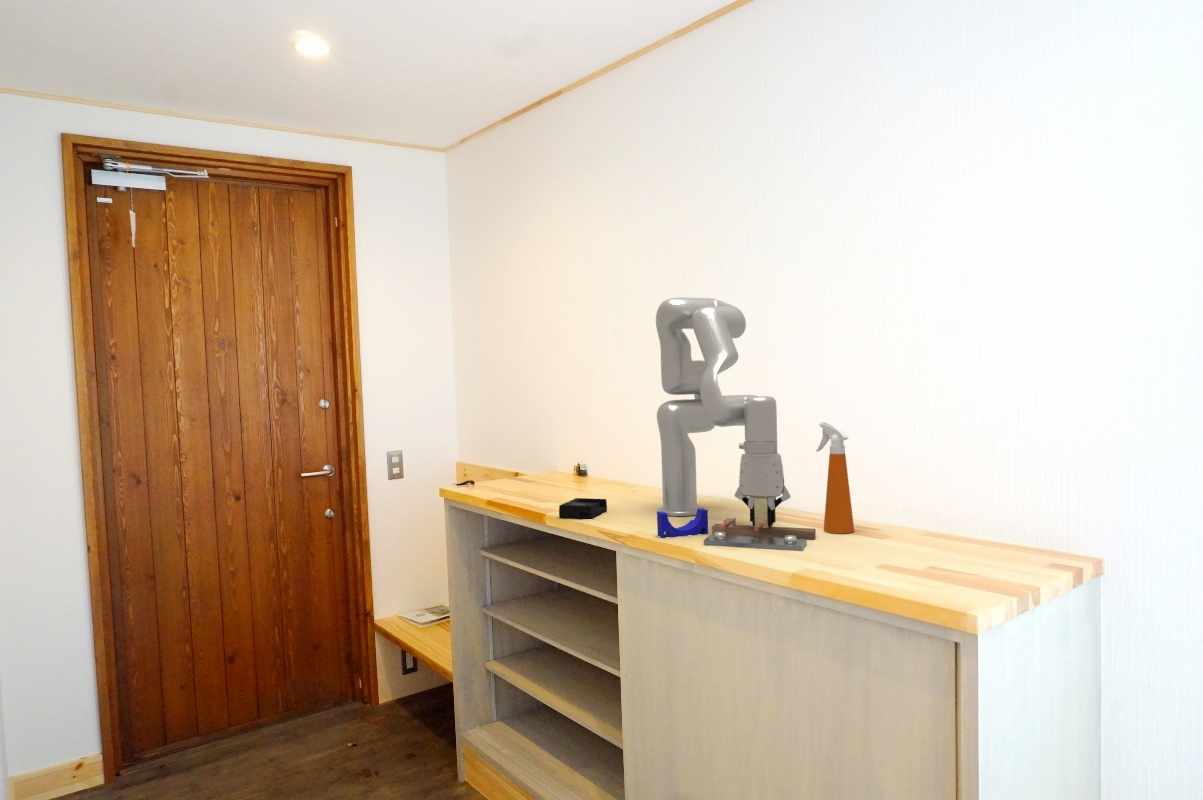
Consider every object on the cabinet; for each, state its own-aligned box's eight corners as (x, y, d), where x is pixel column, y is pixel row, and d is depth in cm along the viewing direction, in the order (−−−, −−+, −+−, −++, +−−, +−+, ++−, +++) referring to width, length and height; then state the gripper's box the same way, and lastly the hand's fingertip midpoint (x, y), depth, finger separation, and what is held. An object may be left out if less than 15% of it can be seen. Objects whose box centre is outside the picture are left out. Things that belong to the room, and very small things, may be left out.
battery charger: (591, 521, 213) (591, 506, 213) (559, 519, 216) (558, 505, 216) (607, 512, 225) (606, 498, 225) (576, 511, 228) (575, 497, 228)
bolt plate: (711, 538, 185) (711, 529, 185) (806, 543, 177) (806, 534, 176) (703, 544, 179) (703, 535, 179) (801, 550, 170) (801, 540, 170)
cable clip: (700, 531, 195) (700, 507, 194) (708, 534, 190) (707, 510, 190) (655, 535, 191) (654, 510, 191) (662, 538, 187) (661, 514, 187)
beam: (716, 531, 193) (715, 516, 193) (815, 536, 183) (815, 521, 183) (705, 539, 184) (705, 524, 184) (810, 545, 175) (809, 529, 175)
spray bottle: (829, 524, 197) (827, 420, 196) (860, 531, 187) (858, 422, 186) (807, 527, 194) (805, 421, 193) (837, 535, 184) (835, 424, 183)
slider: (758, 524, 189) (757, 495, 188) (770, 524, 187) (770, 495, 187) (750, 532, 180) (749, 501, 180) (763, 532, 179) (762, 502, 178)
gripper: (723, 449, 185) (725, 526, 186) (793, 450, 179) (795, 530, 180) (730, 446, 192) (732, 520, 193) (798, 447, 186) (800, 523, 186)
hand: (762, 524), depth 186 cm, fingers closed on slider, 3 cm apart
